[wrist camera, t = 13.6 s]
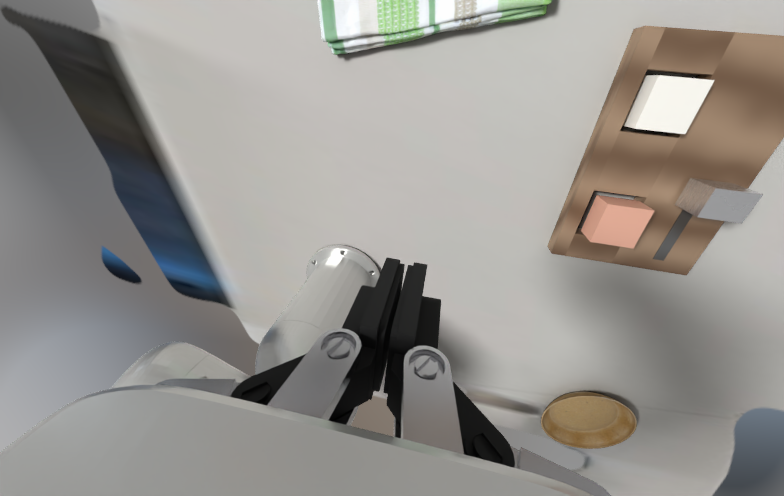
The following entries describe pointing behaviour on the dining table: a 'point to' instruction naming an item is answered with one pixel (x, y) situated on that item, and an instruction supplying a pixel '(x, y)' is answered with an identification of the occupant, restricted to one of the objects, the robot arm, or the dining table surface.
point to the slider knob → (717, 200)
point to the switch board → (678, 142)
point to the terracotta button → (616, 221)
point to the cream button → (667, 103)
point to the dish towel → (411, 19)
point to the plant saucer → (588, 420)
